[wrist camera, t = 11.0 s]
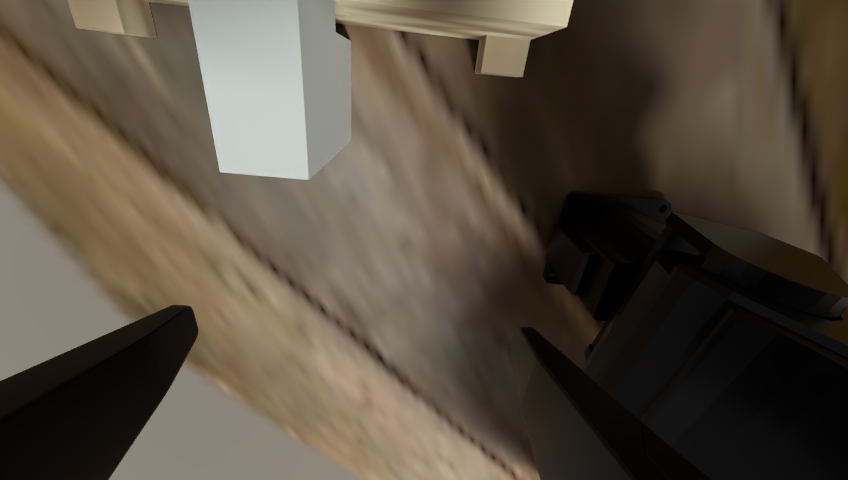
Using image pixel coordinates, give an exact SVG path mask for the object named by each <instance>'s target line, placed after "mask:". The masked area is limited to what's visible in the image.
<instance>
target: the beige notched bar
mask: <svg viewBox="0 0 848 480" xmlns="http://www.w3.org/2000/svg"><path fill="white" fill-rule="evenodd" d="M573 1H574V0H335V23H337V24H345V25H354V26H363V27H371V28H380V29H389V30H397V31H406V32H414V33H423V34H432V35H440V36H449V37H458V38H466V39H475V40H479V46H478V53H477V60H476V66H475V73H476V74H486V75H495V76H504V77H523V73H524V69H525V64H526V59H527V54H528V49H529V44H530V40H532V39H535V38H538V37H541V36H543V35H546V34H549V33H552V32H555V31H557V30H560V29H563V28H566V27H567V25H568V21H569V17H570V13H571V9H572V5H573ZM149 2H156V3H164V4H173V5H182V6H189V3H188V0H68V3H69V6H70V9H71V12H72V16H73V19H74V22H75V25H76V28H80V29H87V30H93V31H100V32H106V33H113V34H121V35H130V36H139V37H149V38H157V35H156V31H155V27H154V22H153V18H152V14H151V9H150V5H149Z"/></svg>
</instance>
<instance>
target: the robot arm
mask: <svg viewBox="0 0 848 480" xmlns="http://www.w3.org/2000/svg"><path fill="white" fill-rule="evenodd" d="M576 197H578V200H577V201H576V202H575V203H572V202H573V199H574V198H576ZM662 205H663V207H662V208H661V209H660V210H659V208H660V206H662ZM670 210H671V204H670V203H669V202H668V201H666V200H663V199H656V198H645V197H634V196H623V195H612V194H601V193H590V192H578V191H574V192H571V193H570V194H569V195H567V197H566V200H565V203H564V207H563V210H562V213H561V216H560V220H559V222H558V223H557V224H556V225H555V227H554V231H553V234H552V237H551V241H550V244H549V247H548V251H547V254H546V260H547V262H546V265H545V269H544V272H543V278H544V279H545V281H546V282H547V283H551V284H564V285H565V286H566V288H567V289H568V290H569V292H570V293H571V294H572V295H573V296H578V297H579V299H580V300H581V301H582V303H583V304H584V306H585V307H586V308H587V310H588V311H589V312H590V314H591V315H592V316H593V318H594V319H595V320H602V321H606V323H605V324H604V326H603V327H602V329H601V331H600V332H599V334H598V335H597V337H596V338H595V340H594V342H593V343H592V344H589V346H588V347H587V349H586V350H585V356H586V362H585V363H584V366H583V371H582V370H581V369H580V368H579V367H578V366H576V365H575V364H574V363H573V362H572V361H571V360H569V359H568V358H567V357H566V356H565V355H564V354H562V353H561V352H560V351H559V350H558V349H557V348H556V347H554V346H553V345H552V344H551V343H550V342H549V341H547V340H546V339H545V338H544V337H543V336H542V335H540V334H539V333H538V332H537V331H536V330H535V329H533V328H531V327H518V328H517V329H516V332H515V335H514V339H513V342H512V346H511V361H512V366H513V372H514V378H515V383H516V389H517V395H518V400H519V405H520V410H521V413H522V417H523V421H524V424H525V427H526V431H527V434H528V438H529V441H530V445H531V448H532V452H533V455H534V458H535V462H536V465H537V469H538V472H539V476H540V479H541V480H848V285H847V284H846V283H845V281H844V280H843V279H842V278H841V277H840V276H839V275H838V274H837V273H836V272H835V271H834V270H833V269H832V268H831V267H830V266H829V265H828V264H827V263H826V262H825V261H824V260H823V259H822V258H821V257H819V256H817V255H815V254H812V253H810V252H807V251H805V250H802V249H800V248H797V247H795V246H792V245H790V244H787V243H785V242H782V241H780V240H777V239H775V238H772V237H769V236H767V235H764V234H762V233H759V232H755V231H751V230H747V229H743V228H739V227H735V226H731V225H726V224H722V223H718V222H714V221H710V220H706V219H702V218H698V217H694V216H690V215H686V214H682V213H678V212H673V211H672V212H671V214H670V216H669V217H668V219H667V220H666V218H667V216H668V214H669V212H670ZM665 220H666V223H667V225H664V223H665ZM551 274H554V275H553V276H552V277H549V275H551ZM197 336H198V326H197V323H196V319H195V315H194V312H193V309H192V308H191V307H190V306H186V305H172V306H169V307H167V308H165V309H163V310H160V311H158V312H156V313H154V314H151V315H149V316H147V317H145V318H142V319H140V320H138V321H135V322H133V323H131V324H129V325H126V326H124V327H122V328H120V329H117V330H115V331H113V332H111V333H108V334H106V335H104V336H102V337H99V338H97V339H95V340H92V341H90V342H88V343H86V344H83V345H81V346H79V347H77V348H74V349H72V350H70V351H67V352H65V353H63V354H61V355H58V356H57V357H54V358H52V359H50V360H48V361H45V362H43V363H41V364H38V365H36V366H33V367H31V368H29V369H27V370H25V371H22V372H20V373H18V374H15V375H13V376H11V377H9V378H6V379H4V380H2V381H0V480H109V478H110V477H111V475H112V474H113V472H114V471H115V469H116V468H117V466H118V465H119V463H120V462H121V460H122V459H123V457H124V456H125V454H126V453H127V451H128V450H129V448H130V447H131V445H132V444H133V442H134V441H135V439H136V438H137V436H138V435H139V434H140V432H141V430H142V429H143V428H144V426H145V425H146V423H147V422H148V420H149V419H150V417H151V416H152V414H153V413H154V411H155V410H156V408H157V407H158V405H159V404H160V402H161V401H162V399H163V398H164V396H165V395H166V393H167V391H168V390H169V388H170V386H171V385H172V383H173V381H174V379H175V377H176V375H177V374H178V372H179V370H180V368H181V366H182V364H183V363H184V361H185V359H186V357H187V355H188V353H189V351H190V350H191V348H192V346H193V344H194V342H195V340H196V338H197Z"/></svg>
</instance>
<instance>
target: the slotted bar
mask: <svg viewBox="0 0 848 480" xmlns="http://www.w3.org/2000/svg"><path fill="white" fill-rule="evenodd" d="M188 3H189V8H190V14H191V19H192V24H193V30H194V35H195V40H196V46H197V51H198V57H199V62H200V67H201V73H202V78H203V83H204V89H205V94H206V100H207V105H208V110H209V116H210V121H211V126H212V132H213V137H214V143H215V148H216V153H217V159H218V164H219V169H220V172H224V173H235V174H247V175H258V176H270V177H281V178H292V179H304V180H309V179H311V178H312V177H313V176H314V175H315V174H316V173H317V172H318V171H319V170H320V169H321V168H323V167H324V166H325V165H326V164H327V163H328V162H329V161H330V160H331V159H332V158H333V157H335V156H336V155H337V154H338V153H339V152H340V151H341V150H342V149H343V148H344V147H345V146H347V145H348V144H349V143H350V142H351V41H350V40H348V39H347V38H345V37H343V36H342V35H340V34H338V33H336V27H335V0H188Z"/></svg>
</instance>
